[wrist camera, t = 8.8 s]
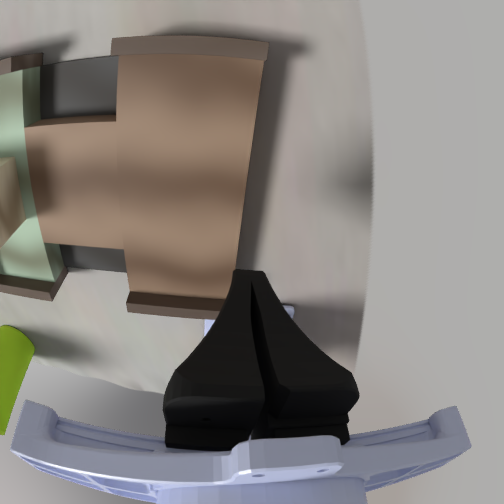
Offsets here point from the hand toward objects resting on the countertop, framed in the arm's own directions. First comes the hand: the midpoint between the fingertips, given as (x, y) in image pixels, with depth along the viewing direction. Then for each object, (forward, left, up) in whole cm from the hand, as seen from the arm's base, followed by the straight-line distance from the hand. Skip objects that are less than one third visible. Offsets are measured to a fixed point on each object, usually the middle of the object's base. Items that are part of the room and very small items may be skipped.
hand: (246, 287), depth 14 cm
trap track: (+1, +11, -9) cm, 15 cm away
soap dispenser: (-22, +28, -10) cm, 37 cm away
